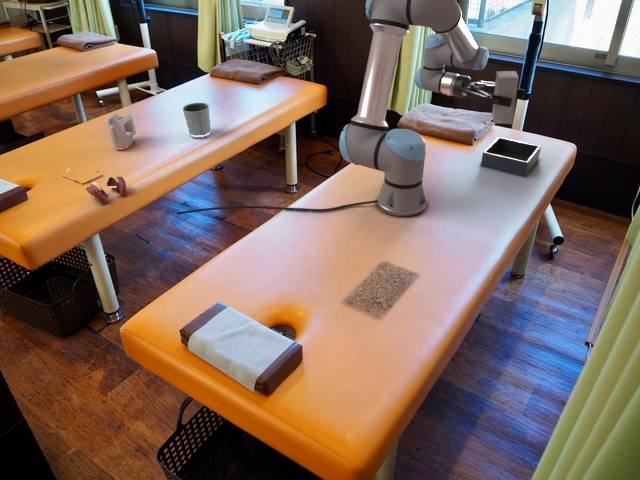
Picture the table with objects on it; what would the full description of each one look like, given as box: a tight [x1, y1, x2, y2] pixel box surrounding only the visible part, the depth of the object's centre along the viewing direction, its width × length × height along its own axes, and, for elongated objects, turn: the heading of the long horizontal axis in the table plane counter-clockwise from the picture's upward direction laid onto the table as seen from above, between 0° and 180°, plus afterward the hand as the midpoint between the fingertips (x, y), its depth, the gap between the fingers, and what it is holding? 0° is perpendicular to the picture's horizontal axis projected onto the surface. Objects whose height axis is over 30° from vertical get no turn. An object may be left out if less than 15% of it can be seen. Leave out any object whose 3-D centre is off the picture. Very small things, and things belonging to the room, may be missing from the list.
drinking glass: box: [182, 102, 212, 140], centre depth 214 cm, size 10×10×12 cm
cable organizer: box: [106, 112, 137, 151], centre depth 208 cm, size 7×12×12 cm, turn 169°
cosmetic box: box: [491, 70, 519, 125], centre depth 179 cm, size 8×7×16 cm
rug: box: [344, 260, 417, 317], centre depth 134 cm, size 10×20×1 cm, turn 145°
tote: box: [480, 136, 542, 178], centre depth 189 cm, size 16×16×5 cm
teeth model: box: [85, 176, 127, 205], centre depth 176 cm, size 8×6×12 cm
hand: (517, 98), depth 176 cm, fingers closed on cosmetic box, 10 cm apart
